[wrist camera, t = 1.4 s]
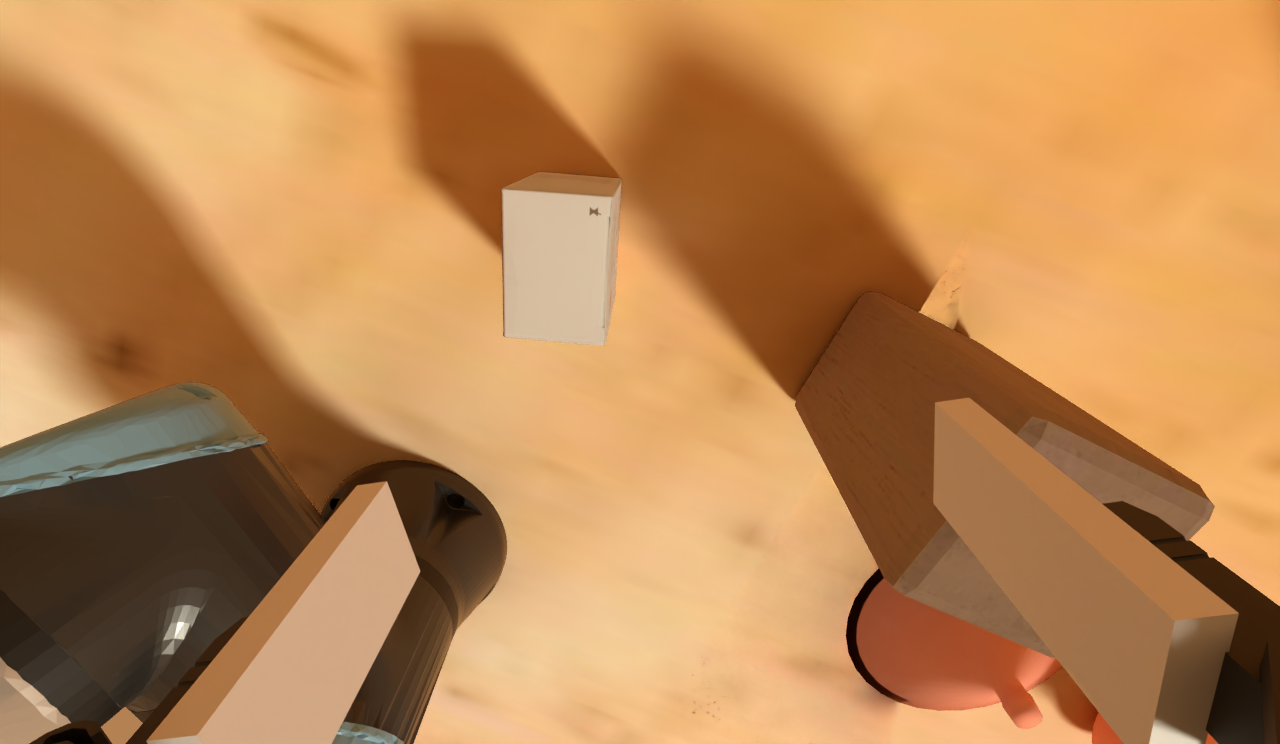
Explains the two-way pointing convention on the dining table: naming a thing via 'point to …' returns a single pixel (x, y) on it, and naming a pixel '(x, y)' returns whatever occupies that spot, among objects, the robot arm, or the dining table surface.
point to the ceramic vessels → (946, 659)
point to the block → (904, 452)
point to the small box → (560, 257)
